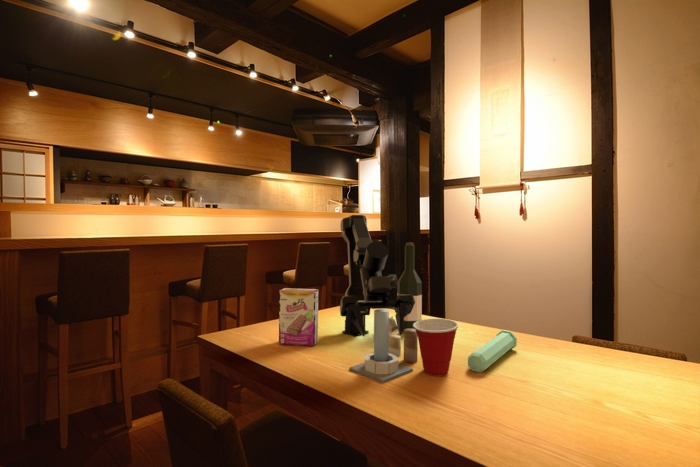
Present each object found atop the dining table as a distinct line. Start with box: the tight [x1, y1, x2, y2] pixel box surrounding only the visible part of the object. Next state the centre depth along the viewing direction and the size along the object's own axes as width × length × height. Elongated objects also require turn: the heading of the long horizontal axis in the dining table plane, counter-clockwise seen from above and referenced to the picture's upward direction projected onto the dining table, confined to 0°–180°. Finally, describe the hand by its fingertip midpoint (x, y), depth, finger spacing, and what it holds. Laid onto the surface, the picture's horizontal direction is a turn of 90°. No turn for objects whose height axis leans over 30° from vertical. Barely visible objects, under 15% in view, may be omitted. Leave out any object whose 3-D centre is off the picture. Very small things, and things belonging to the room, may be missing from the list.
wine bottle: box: [396, 242, 423, 334], centre depth 131 cm, size 8×8×30 cm
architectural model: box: [389, 316, 399, 335], centre depth 118 cm, size 3×7×7 cm, turn 153°
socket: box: [348, 352, 414, 384], centre depth 93 cm, size 11×11×3 cm
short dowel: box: [389, 334, 402, 358], centre depth 105 cm, size 4×4×5 cm
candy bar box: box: [278, 287, 319, 347], centre depth 115 cm, size 11×5×16 cm, turn 84°
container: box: [467, 329, 518, 373], centre depth 102 cm, size 6×6×25 cm
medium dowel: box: [403, 329, 419, 364], centre depth 101 cm, size 4×4×8 cm
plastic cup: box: [413, 318, 459, 377], centre depth 93 cm, size 11×11×12 cm
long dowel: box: [373, 309, 390, 362], centre depth 93 cm, size 4×4×14 cm
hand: (382, 334), depth 92 cm, fingers open, 9 cm apart
